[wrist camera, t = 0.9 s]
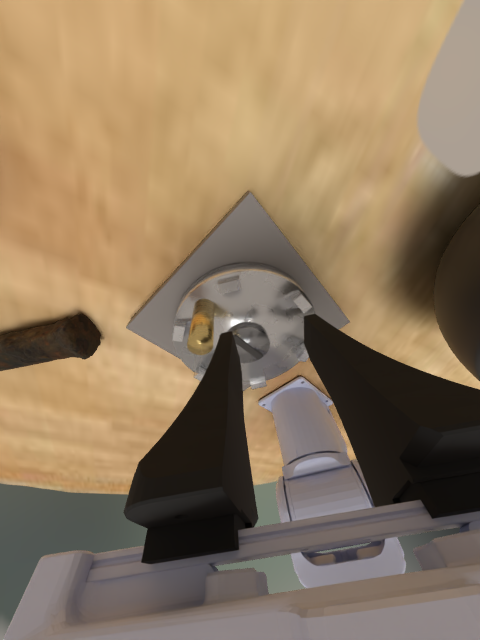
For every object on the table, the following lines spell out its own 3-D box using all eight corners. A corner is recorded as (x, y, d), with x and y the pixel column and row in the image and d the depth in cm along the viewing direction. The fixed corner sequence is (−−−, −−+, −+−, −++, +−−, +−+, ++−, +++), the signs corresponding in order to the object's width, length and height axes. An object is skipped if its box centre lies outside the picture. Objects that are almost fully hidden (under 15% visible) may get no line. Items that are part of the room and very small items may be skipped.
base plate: (343, 313, 23) (351, 323, 21) (238, 383, 28) (240, 394, 27) (247, 190, 15) (251, 192, 14) (131, 318, 21) (125, 328, 19)
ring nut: (332, 324, 21) (370, 374, 16) (240, 384, 26) (246, 439, 20) (249, 226, 15) (266, 254, 10) (147, 329, 19) (121, 386, 14)
